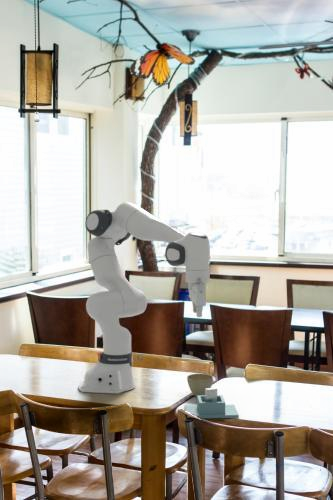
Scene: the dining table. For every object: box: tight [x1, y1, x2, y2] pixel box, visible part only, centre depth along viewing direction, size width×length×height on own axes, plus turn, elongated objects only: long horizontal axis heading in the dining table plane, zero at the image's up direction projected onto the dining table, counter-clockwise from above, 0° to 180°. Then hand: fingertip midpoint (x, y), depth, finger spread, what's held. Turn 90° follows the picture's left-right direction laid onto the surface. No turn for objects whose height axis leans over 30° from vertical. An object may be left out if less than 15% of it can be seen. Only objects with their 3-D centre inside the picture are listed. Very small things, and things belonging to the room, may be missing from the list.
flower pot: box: [186, 373, 214, 397], centre depth 273 cm, size 10×10×7 cm
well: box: [184, 394, 239, 419], centre depth 251 cm, size 18×12×5 cm, turn 92°
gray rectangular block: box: [205, 387, 218, 402], centre depth 251 cm, size 4×4×8 cm
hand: (197, 314), depth 260 cm, fingers open, 8 cm apart
